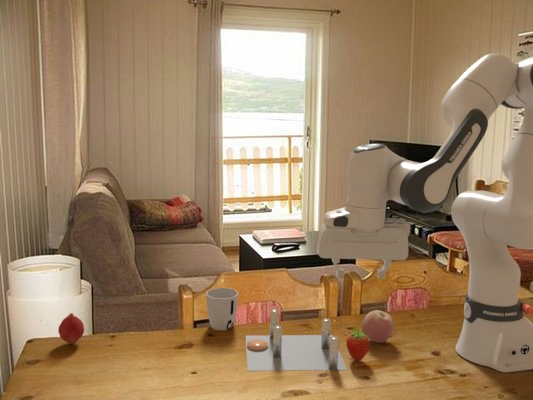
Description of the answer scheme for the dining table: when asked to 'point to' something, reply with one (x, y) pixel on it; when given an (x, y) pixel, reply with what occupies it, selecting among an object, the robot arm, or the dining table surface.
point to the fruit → (357, 345)
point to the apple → (378, 326)
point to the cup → (222, 307)
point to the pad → (257, 345)
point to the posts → (326, 343)
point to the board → (291, 354)
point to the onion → (71, 329)
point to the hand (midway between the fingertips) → (360, 277)
